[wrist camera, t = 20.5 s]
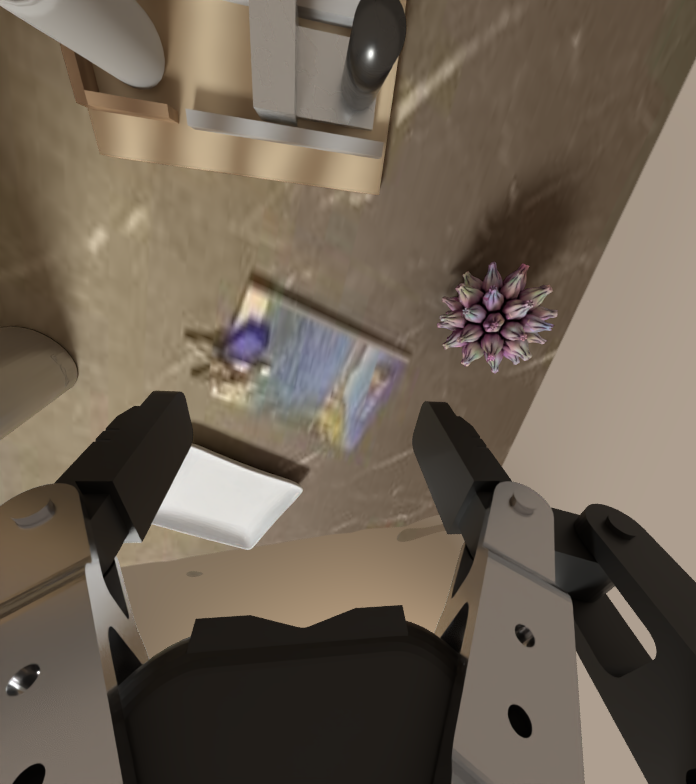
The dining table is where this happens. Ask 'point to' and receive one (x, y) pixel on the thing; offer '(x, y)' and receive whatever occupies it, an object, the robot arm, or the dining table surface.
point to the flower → (496, 317)
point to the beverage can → (101, 34)
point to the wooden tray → (227, 103)
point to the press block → (322, 63)
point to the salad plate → (224, 499)
